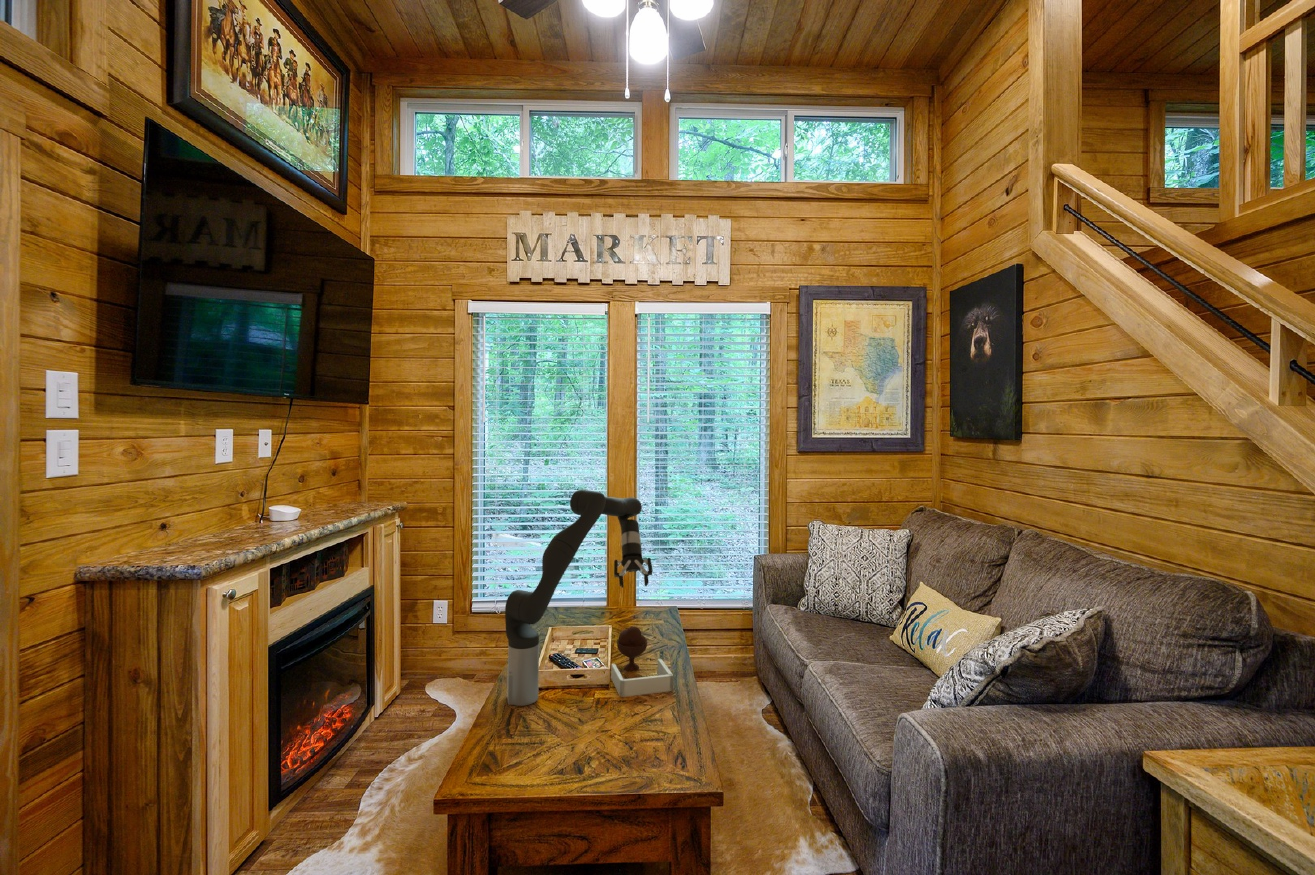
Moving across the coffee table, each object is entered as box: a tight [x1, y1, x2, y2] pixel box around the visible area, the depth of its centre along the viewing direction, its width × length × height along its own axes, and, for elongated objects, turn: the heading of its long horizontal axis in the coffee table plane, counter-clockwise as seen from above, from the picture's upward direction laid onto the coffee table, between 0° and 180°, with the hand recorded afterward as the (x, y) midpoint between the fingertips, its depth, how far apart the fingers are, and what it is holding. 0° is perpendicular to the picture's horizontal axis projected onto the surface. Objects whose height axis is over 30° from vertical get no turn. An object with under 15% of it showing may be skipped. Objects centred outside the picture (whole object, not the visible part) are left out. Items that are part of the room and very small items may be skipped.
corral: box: [610, 658, 675, 698], centre depth 192 cm, size 17×14×5 cm
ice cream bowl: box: [616, 625, 648, 673], centre depth 205 cm, size 11×11×15 cm
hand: (634, 586), depth 215 cm, fingers open, 8 cm apart
